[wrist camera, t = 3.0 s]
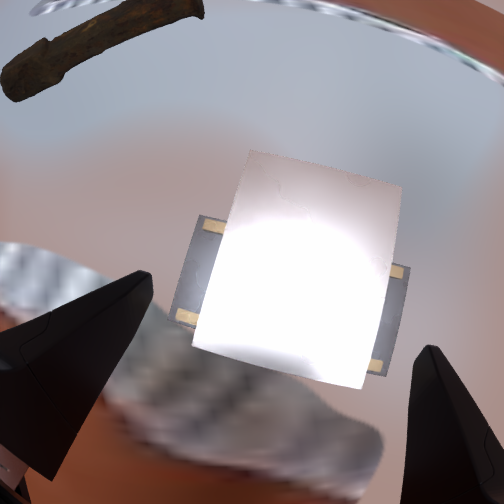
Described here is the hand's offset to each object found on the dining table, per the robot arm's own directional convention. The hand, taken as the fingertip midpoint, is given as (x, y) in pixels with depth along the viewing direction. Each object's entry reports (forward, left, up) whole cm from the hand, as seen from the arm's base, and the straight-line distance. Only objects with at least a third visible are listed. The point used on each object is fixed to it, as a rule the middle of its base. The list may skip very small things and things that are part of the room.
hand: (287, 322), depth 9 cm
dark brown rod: (+28, +11, -9) cm, 31 cm away
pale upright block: (+1, -1, -6) cm, 7 cm away
